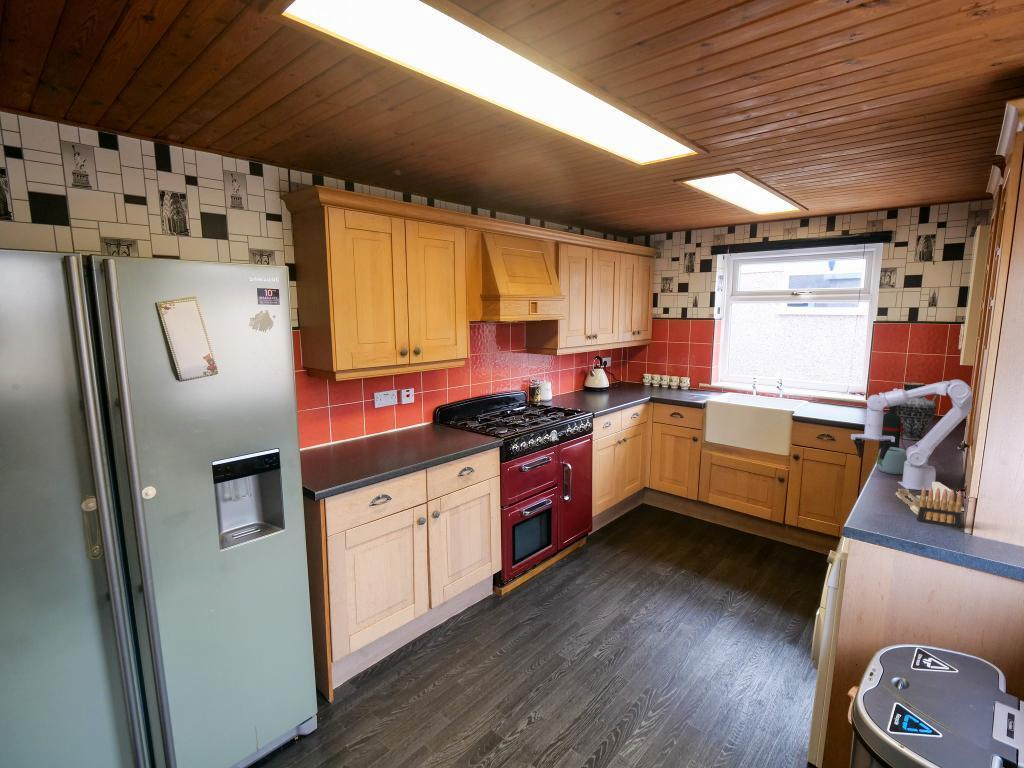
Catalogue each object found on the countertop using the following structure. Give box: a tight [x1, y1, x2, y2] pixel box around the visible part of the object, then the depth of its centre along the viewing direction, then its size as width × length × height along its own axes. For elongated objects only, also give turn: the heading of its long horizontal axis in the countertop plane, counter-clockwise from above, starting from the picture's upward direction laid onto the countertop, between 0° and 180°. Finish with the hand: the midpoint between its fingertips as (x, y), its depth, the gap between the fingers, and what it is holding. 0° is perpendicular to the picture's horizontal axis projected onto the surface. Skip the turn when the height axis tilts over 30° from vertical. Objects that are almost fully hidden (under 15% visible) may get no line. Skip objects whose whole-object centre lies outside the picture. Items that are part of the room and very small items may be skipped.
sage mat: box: [915, 494, 964, 511], centre depth 181 cm, size 10×13×1 cm
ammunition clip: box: [916, 486, 963, 528], centre depth 164 cm, size 11×2×12 cm, turn 58°
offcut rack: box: [895, 488, 933, 516], centre depth 181 cm, size 6×20×3 cm, turn 163°
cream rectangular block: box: [932, 481, 953, 507], centre depth 181 cm, size 2×10×6 cm, turn 163°
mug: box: [876, 447, 907, 475], centre depth 220 cm, size 15×11×10 cm
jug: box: [895, 382, 940, 441], centre depth 272 cm, size 21×19×30 cm
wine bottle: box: [877, 406, 906, 455], centre depth 240 cm, size 8×10×30 cm
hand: (870, 457), depth 206 cm, fingers open, 7 cm apart
